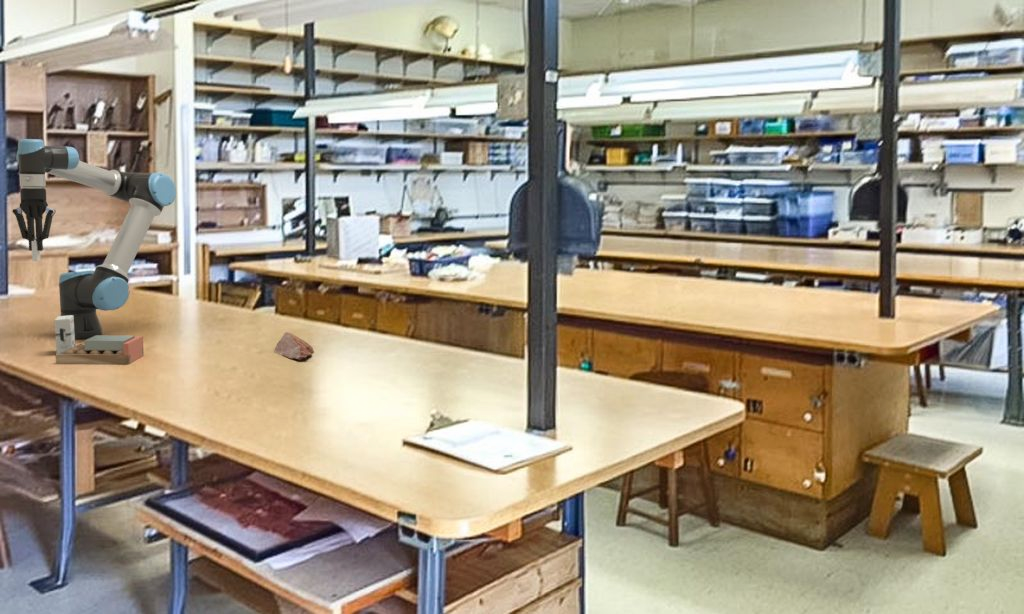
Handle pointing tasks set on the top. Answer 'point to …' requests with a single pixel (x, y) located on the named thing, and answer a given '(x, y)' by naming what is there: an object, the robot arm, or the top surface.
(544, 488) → the top surface
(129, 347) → the stop rail
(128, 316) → the top surface
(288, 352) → the rock
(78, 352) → the roller bed
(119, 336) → the stone slab
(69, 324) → the ink box
